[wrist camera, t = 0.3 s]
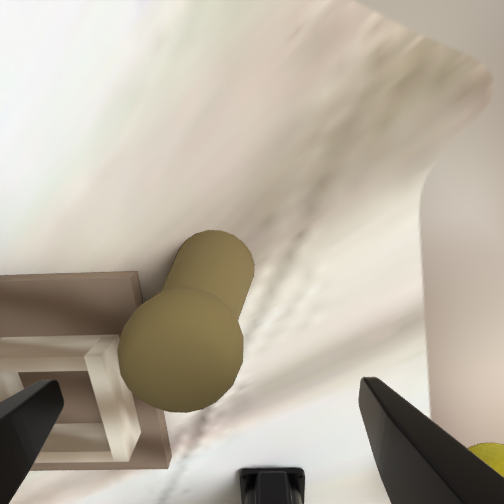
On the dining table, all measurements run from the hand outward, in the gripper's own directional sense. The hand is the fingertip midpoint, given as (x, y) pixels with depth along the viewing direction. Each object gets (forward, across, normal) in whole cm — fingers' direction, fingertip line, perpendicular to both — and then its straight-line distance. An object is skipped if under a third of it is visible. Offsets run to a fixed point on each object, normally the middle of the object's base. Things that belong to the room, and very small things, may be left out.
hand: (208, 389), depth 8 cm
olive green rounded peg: (+13, +2, +1) cm, 13 cm away
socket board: (+13, +15, +11) cm, 22 cm away
